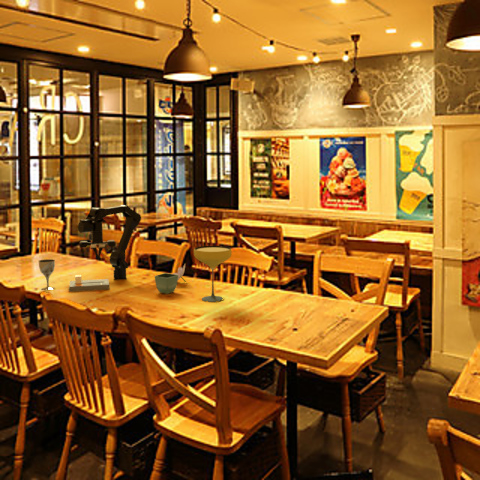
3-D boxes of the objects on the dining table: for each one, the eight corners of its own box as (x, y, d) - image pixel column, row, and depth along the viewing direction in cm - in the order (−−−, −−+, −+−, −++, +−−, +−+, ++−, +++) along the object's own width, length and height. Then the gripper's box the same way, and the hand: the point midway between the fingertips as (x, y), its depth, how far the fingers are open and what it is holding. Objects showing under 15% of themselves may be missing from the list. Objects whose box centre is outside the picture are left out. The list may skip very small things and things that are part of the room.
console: (108, 283, 306) (108, 278, 305) (109, 289, 292) (109, 284, 292) (70, 285, 301) (70, 280, 300) (69, 291, 287) (69, 286, 287)
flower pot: (167, 295, 280) (167, 277, 279) (154, 293, 285) (154, 275, 283) (178, 291, 288) (178, 274, 286) (165, 289, 292) (165, 272, 291)
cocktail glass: (187, 301, 268) (187, 250, 264) (203, 293, 285) (203, 244, 281) (222, 305, 262) (222, 252, 258) (236, 296, 278) (237, 247, 275)
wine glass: (41, 291, 288) (39, 262, 285) (38, 288, 295) (37, 260, 292) (57, 289, 291) (55, 261, 289) (54, 286, 298) (53, 258, 296)
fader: (81, 284, 298) (81, 274, 297) (81, 286, 293) (81, 276, 292) (75, 284, 297) (75, 275, 296) (75, 286, 292) (75, 277, 291)
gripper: (114, 228, 313) (115, 256, 315) (79, 229, 308) (80, 257, 311) (115, 231, 302) (115, 259, 305) (79, 232, 298) (80, 261, 300)
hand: (98, 259), depth 305 cm, fingers closed
